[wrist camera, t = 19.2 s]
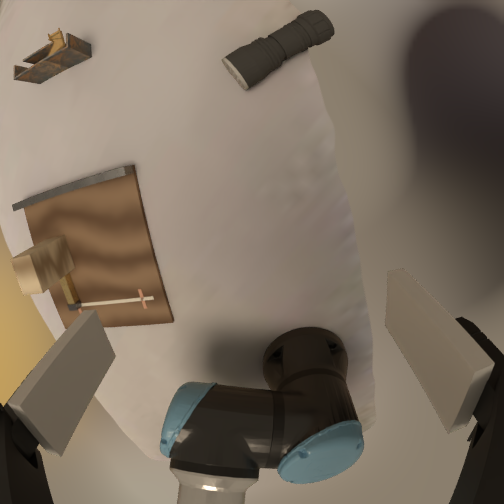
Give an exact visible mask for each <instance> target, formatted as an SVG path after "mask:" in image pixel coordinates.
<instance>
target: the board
mask: <svg viewBox="0 0 504 504" xmlns="http://www.w3.org/2000/svg"><path fill="white" fill-rule="evenodd" d="M12 207H13V211H16V210H19V209H21V208H24V211H25V215H26V219H27V223H28V226H29V230H30V234H31V237H32V241H33V244H34V246H35V245H37V244H38V243H40V242H42V241H44V240H46V239H50V238H54V237H58V236H62V235H65V236H66V240H67V243H68V247H69V250H70V253H71V257H72V260H73V263H74V266H75V268H74V269H73V270H72V271H70V272H69V273H70V276H71V279H72V282H73V285H74V288H75V290H76V293H77V296H78V298H79V300H80V301H81V304H82V306H81V307H80V308H79V309H78V310H75V311H69V308H68V306H67V305H68V302H67V299H66V297H65V294H64V291H63V289H62V286H61V283H60V280H59V281H58V282H56V283H55V284H54V285H52V286H51V287H50V288H49V291H50V293H51V296H52V298H53V301H54V303H55V306H56V308H57V311H58V313H59V315H60V318H61V320H62V322H63V324H64V327H65V329H68V327H69V326H70V325H71V324H72V323H73V322H74V321H75V320H76V318H77V317H78V316H79V315H80V314H81V313H82V312H83V311H84V310H96V311H97V314H98V316H99V319H100V321H101V324H102V326H103V327H121V326H136V325H150V324H163V323H173V321H174V318H173V315H172V312H171V309H170V306H169V302H168V299H167V296H166V292H165V289H164V286H163V282H162V279H161V275H160V272H159V268H158V264H157V261H156V257H155V253H154V249H153V246H152V242H151V238H150V234H149V230H148V226H147V221H146V217H145V213H144V209H143V204H142V200H141V195H140V190H139V186H138V181H137V176H136V171H135V166H134V165H130V166H125V167H121V168H117V169H114V170H110V171H107V172H104V173H100V174H97V175H94V176H91V177H87V178H84V179H81V180H78V181H75V182H72V183H69V184H66V185H63V186H60V187H57V188H55V189H52V190H49V191H46V192H44V193H41V194H38V195H36V196H33V197H30V198H28V199H25V200H23V201H20V202H18V203H15V204H13V205H12Z"/></svg>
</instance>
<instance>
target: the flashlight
mask: <svg viewBox="0 0 504 504" xmlns="http://www.w3.org/2000/svg"><path fill="white" fill-rule="evenodd" d="M333 35H334V27H333V25H332V23H331V21H330V20H329V19H328V17H327V16H326V15H325V14H324V13H322V12H321V11H319V10H314V11H311V10H310V11H307V12H305V13H303V14H301V15H299V16H297V19H295V20H293V21H292V22H291V23H288V24H287V25H284V26H283V28H281V29H279V30H277V31H275V32H274V33H272V34H270V35H268V38H265V39H264V38H258V39H257V40H255V41H253V42H252V43H251V44H249V45H246V46H243V47H240V48H238V49H237V50H235V51H233V52H232V53H230V54H229V55H227V56H226V57H224V58H223V59H222V62H223V64H224V65H225V67H226V68H227V70H228V71H229V72H230V74H231V75H232V76H233V77H234V79H235V80H236V81H237V82H238V83H239V85H240V86H241V87H242V88H243V89H244V90H247V89H248V88H250V87H251V86H253V85H254V84H256V83H257V82H259V81H261V80H262V79H264V78H265V77H266V76H267V75H268V74H269V73H270V72H271V70H272V71H273V70H275V69H276V68H278V67H280V66H281V64H282V61H283V60H284V59H285V60H286V59H288V58H290V57H291V56H293V55H295V54H297V53H299V52H300V51H304V50H305V49H308V47H312V46H314V45H320V44H322V43H324V42H326V41H328V40H330V39H331V36H333Z"/></svg>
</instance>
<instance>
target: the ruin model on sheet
mask: <svg viewBox="0 0 504 504" xmlns="http://www.w3.org/2000/svg"><path fill="white" fill-rule="evenodd" d="M58 29H59V30H58V31H57V32H55V33H53V34H51V35H50V34H48V37H49V39H48V40H50V41H52V42H51V43H49V44H47V45H46V46H44V47H42V48H41V49H39V50H38V51H36V52H34V53H33V54H31V55H30V56H28V57H27V58H25V59H23V62H27V63H31V64H34V65H33V66H31V67H30V68H26V67H21V66H16V65H14V80H19V81H25V82H31V83H37V84H41V83H42V82H44V81H46V80H48V79H49V78H51V77H53V76H55V75H57V74H59V73H61V72H63V71H64V70H66V69H68V68H70V67H72V66H74V65H76V64H79V63H81V62H83V61H85V60H87V59H89V58H91V57H92V55H91V44H89V43H87V42H85V41H83V40H81V39H79V38H77V37H75V36H73V35H71V34H69V33H66V44H65V42H64V38H63V34H62V31H60V28H58Z"/></svg>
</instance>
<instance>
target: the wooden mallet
mask: <svg viewBox="0 0 504 504" xmlns="http://www.w3.org/2000/svg"><path fill="white" fill-rule="evenodd" d="M11 262H12V265H13V268H14V271H15V274H16V277H17V280H18V282H19V285H20V287H21V290H22V293H23V295H30V294H39V293H44V292H45V291H46V290H47V289H49V288H50V287H51V286H52V285H54V284H55V283H56V282H58V281H59V280H60V283H61V286H62V289H63V291H64V294H65V297H66V299H67V302H68V305H67V306H68V308H69V311H75V310H78V309H79V308H80V307H81V306H82V304H81V301H80V300H79V298H78V296H77V293H76V290H75V288H74V285H73V282H72V279H71V276H70V273H69V272H70V271H72V270H73V269H74V268H75V266H74V263H73V260H72V257H71V253H70V250H69V247H68V243H67V240H66V236H65V235H62V236H58V237H54V238H50V239H46V240H44V241H42V242H40V243H38V244H37V245H35V246H33V247H31V248H29V249H28V250H26V251H24V252H22V253H20V254H19V255H17V256H15V257H14V258H12V259H11Z"/></svg>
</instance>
